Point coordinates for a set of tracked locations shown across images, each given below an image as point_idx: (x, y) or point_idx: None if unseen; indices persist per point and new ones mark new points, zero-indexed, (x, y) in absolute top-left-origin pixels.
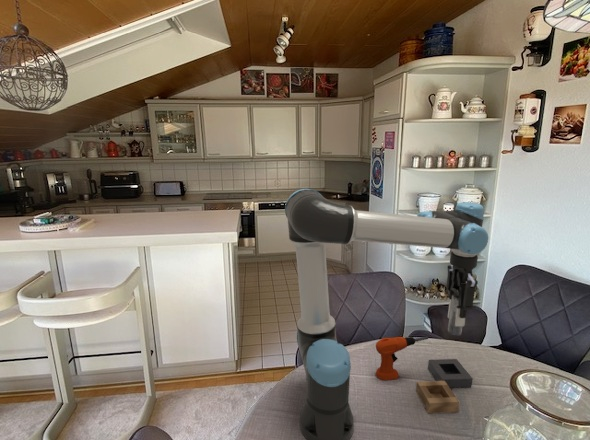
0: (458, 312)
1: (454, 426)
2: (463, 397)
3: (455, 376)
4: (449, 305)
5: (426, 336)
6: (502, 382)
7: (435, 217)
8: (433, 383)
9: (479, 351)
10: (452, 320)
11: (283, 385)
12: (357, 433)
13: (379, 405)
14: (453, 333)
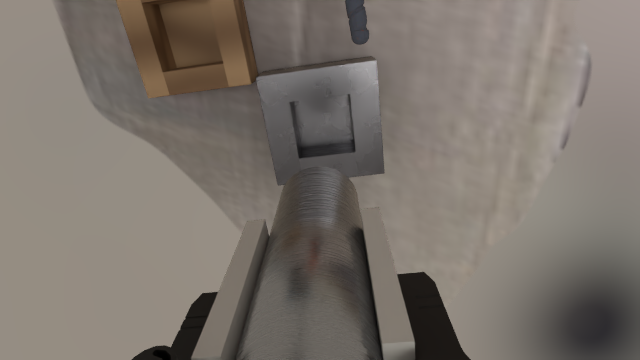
0: (215, 314)
1: (101, 57)
2: (234, 131)
3: (280, 132)
4: (388, 284)
5: (364, 34)
6: None
7: None
8: (225, 32)
9: (462, 262)
10: (283, 223)
11: None
12: None
13: None
14: (285, 188)
